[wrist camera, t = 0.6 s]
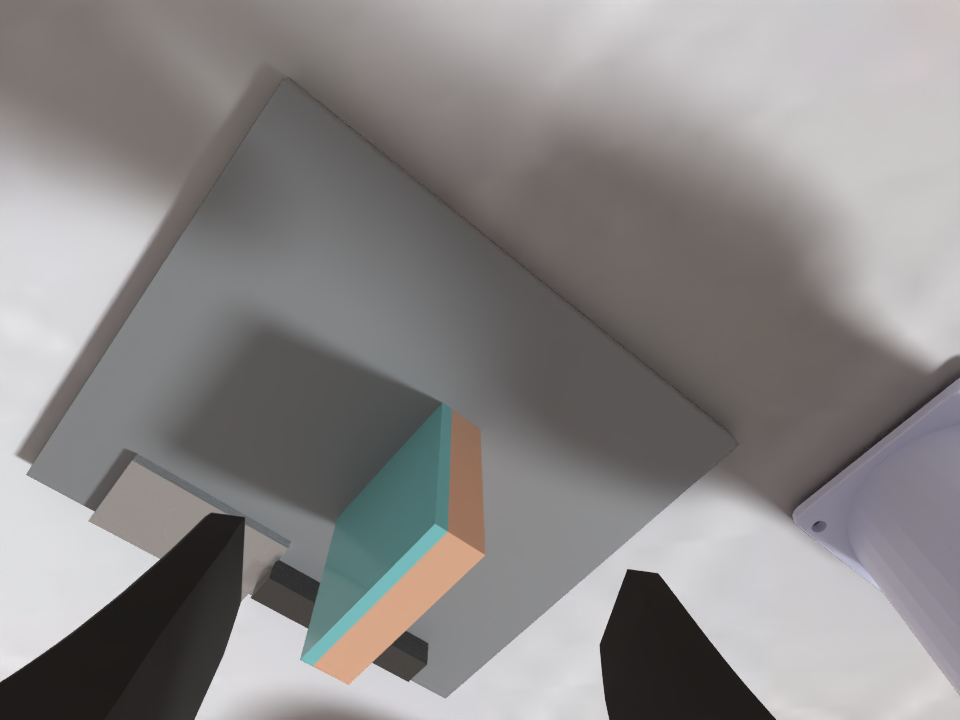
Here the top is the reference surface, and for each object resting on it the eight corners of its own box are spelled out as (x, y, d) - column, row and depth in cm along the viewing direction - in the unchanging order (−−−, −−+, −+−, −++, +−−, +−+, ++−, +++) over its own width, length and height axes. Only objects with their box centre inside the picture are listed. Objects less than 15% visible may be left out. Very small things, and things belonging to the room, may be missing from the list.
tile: (480, 429, 22) (485, 555, 17) (374, 540, 24) (348, 684, 19) (442, 402, 22) (435, 523, 17) (337, 517, 24) (300, 659, 19)
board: (732, 435, 23) (738, 444, 23) (445, 685, 29) (445, 698, 28) (288, 77, 18) (283, 78, 18) (35, 464, 23) (25, 474, 23)
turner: (444, 628, 26) (443, 650, 26) (395, 674, 27) (392, 695, 27) (137, 453, 23) (124, 470, 22) (94, 513, 24) (79, 532, 23)
